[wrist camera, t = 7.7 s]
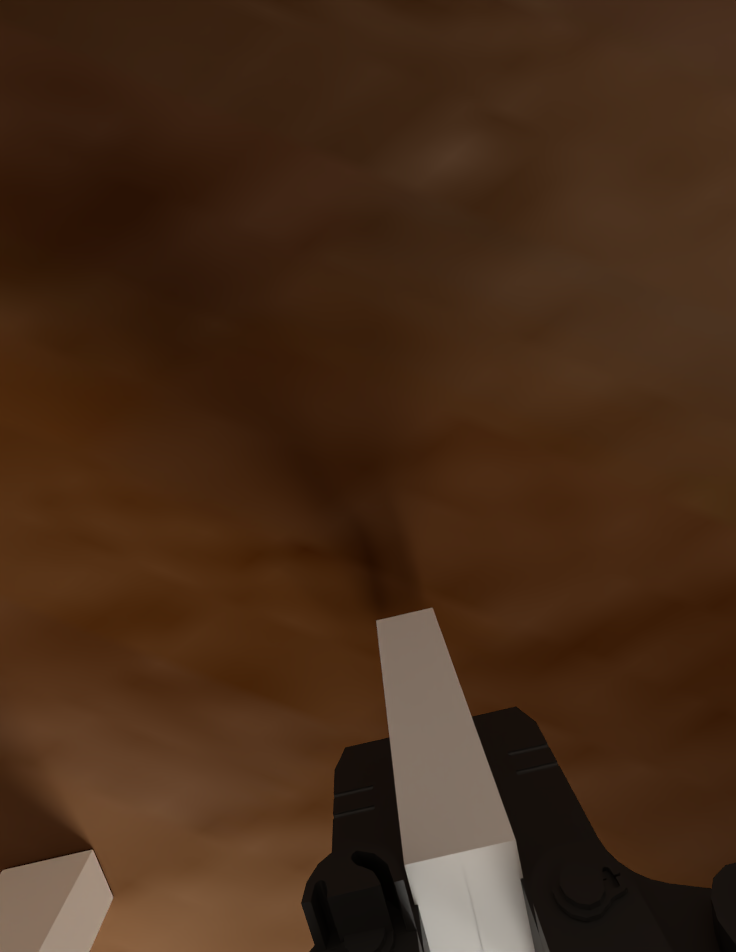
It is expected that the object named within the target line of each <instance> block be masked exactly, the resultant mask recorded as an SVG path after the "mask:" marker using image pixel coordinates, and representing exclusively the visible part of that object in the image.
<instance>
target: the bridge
mask: <svg viewBox="0 0 736 952" xmlns="http://www.w3.org/2000/svg"><path fill="white" fill-rule="evenodd" d="M112 900H113V895H112V893H111V891H110V888H109V886H108V884H107V881H106V879H105V877H104V874H103V872H102V870H101V867H100V865H99V863H98V860H97V858H96V855H95V853H94V851H93V850H88V851H84V852H79V853H75V854H71V855H66V856H62V857H58V858H53V859H49V860H44V861H40V862H36V863H31V864H27V865H22V866H18V867H14V868H9V869H5V870H2V872H1V873H0V952H89V951H90V949H91V947H92V945H93V942H94V940H95V938H96V936H97V933H98V931H99V929H100V927H101V924H102V922H103V920H104V918H105V915H106V913H107V911H108V909H109V906H110V904H111V902H112Z"/></svg>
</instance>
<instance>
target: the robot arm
mask: <svg viewBox="0 0 736 952" xmlns="http://www.w3.org/2000/svg"><path fill="white" fill-rule="evenodd" d="M376 624H377V632H378V641H379V650H380V659H381V667H382V676H383V685H384V694H385V702H386V711H387V720H388V728H389V738H385V739H381V740H376V741H372V742H368V743H363V744H359V745H354V746H350V747H346V748H345V749H344V752H343V754H342V756H341V758H340V760H339V762H338V764H337V766H336V768H335V776H334V798H335V799H334V807H333V815H334V819H333V838H332V853H331V854H330V855H328V856H327V857H326V858H325V859H324V860H323V861H321V862H320V863H319V864H318V865H317V867H316V868H315V870H314V872H313V873H312V875H311V876H310V878H309V880H308V881H307V883H306V887H305V891H304V895H303V898H302V902H301V904H302V907H303V910H304V913H305V916H306V920H307V923H308V926H309V929H310V932H311V935H312V938H313V941H314V944H315V945H314V947H313V948H312V949H311V950H310V952H736V863H732V864H729V865H725V866H724V867H723V868H722V870H721V871H720V872H719V873H718V874H717V875H716V876H715V877H714V878H713V884H712V889H711V888H702V887H694V886H686V885H677V884H669V883H664V882H660V881H656V880H651V879H649V878H646V877H644V876H642V875H639V874H637V873H635V872H633V871H631V870H630V869H628V868H627V867H625V866H624V865H622V864H621V863H619V862H618V861H617V860H616V859H615V858H614V857H613V856H612V855H611V854H610V853H609V852H608V851H607V850H606V849H605V847H604V846H603V845H602V843H601V842H600V840H599V839H598V837H597V835H596V833H595V832H594V830H593V828H592V826H591V824H590V822H589V820H588V818H587V817H586V815H585V813H584V811H583V809H582V807H581V805H580V804H579V802H578V800H577V798H576V796H575V794H574V792H573V790H572V789H571V787H570V785H569V783H568V781H567V779H566V777H565V776H564V774H563V772H562V770H561V768H560V766H558V764H557V761H556V759H555V757H554V755H553V753H552V751H551V749H550V748H549V747H548V744H547V742H546V740H545V738H544V736H543V734H542V733H541V731H540V729H539V727H538V725H537V723H536V722H535V721H534V720H533V719H531V718H530V717H529V716H528V715H526V714H525V713H524V712H522V711H521V710H520V709H519V708H517V707H513V708H508V709H504V710H499V711H495V712H491V713H486V714H482V715H478V716H473V717H472V716H471V714H470V711H469V708H468V705H467V703H466V700H465V697H464V694H463V691H462V689H461V686H460V683H459V680H458V677H457V675H456V672H455V669H454V666H453V663H452V661H451V658H450V655H449V652H448V649H447V647H446V644H445V641H444V638H443V635H442V633H441V630H440V627H439V624H438V622H437V619H436V616H435V613H434V610H433V608H429V609H424V610H420V611H415V612H411V613H407V614H402V615H398V616H394V617H389V618H385V619H381V620H376Z"/></svg>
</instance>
